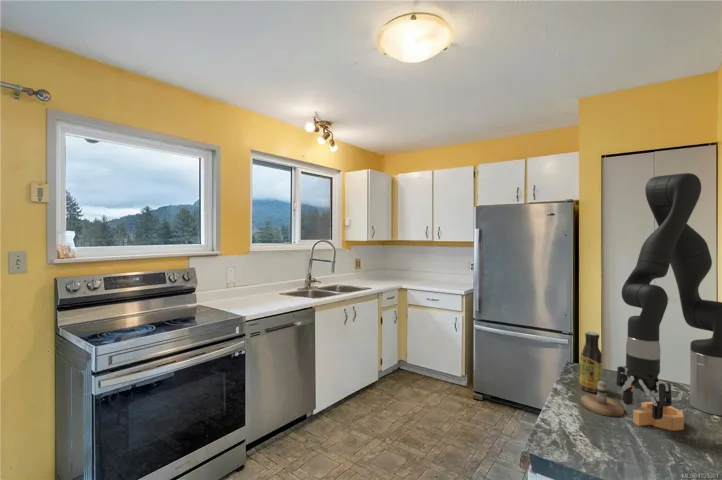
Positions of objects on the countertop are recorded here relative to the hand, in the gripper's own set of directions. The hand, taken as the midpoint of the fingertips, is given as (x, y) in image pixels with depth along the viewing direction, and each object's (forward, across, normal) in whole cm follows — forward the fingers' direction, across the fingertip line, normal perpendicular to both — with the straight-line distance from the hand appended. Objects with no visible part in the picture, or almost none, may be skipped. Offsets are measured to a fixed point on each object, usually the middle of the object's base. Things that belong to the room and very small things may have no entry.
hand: (641, 411), depth 99 cm
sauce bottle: (+4, +22, -3) cm, 22 cm away
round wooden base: (+4, +10, +3) cm, 11 cm away
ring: (+4, 0, -5) cm, 6 cm away
